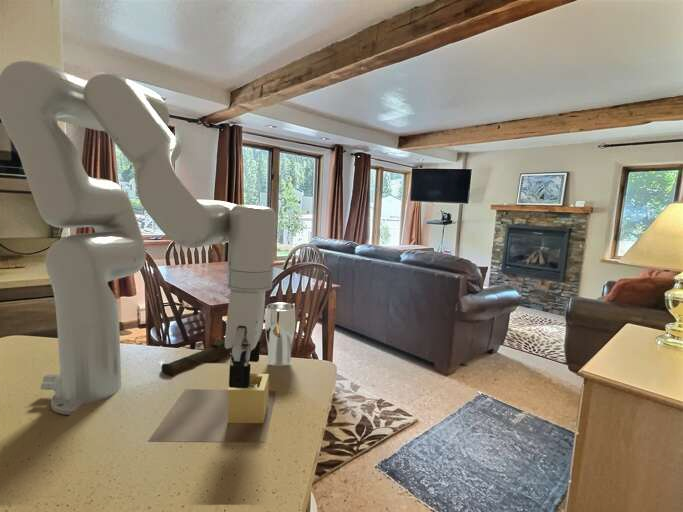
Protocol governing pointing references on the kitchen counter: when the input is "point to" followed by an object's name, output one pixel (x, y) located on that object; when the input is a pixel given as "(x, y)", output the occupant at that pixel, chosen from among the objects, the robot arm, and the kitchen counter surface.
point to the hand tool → (198, 358)
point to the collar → (249, 401)
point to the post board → (209, 420)
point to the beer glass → (279, 333)
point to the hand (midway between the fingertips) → (245, 373)
